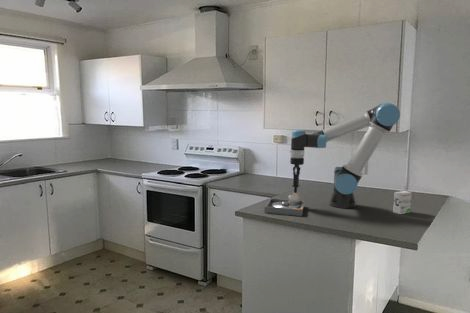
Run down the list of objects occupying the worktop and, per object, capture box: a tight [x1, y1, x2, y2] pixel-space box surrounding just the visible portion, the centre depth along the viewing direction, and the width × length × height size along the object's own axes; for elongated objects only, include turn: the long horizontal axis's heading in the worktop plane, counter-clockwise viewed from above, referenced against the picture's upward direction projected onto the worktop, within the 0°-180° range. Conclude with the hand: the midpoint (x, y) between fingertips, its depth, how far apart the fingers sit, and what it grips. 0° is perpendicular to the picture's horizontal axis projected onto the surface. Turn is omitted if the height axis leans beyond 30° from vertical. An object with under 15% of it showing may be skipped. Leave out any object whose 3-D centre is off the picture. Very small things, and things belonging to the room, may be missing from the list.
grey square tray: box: [264, 197, 305, 217], centre depth 209 cm, size 20×20×4 cm
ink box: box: [392, 190, 413, 215], centre depth 208 cm, size 9×5×12 cm, turn 116°
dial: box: [272, 193, 300, 209], centre depth 209 cm, size 16×15×7 cm
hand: (295, 197), depth 215 cm, fingers closed
